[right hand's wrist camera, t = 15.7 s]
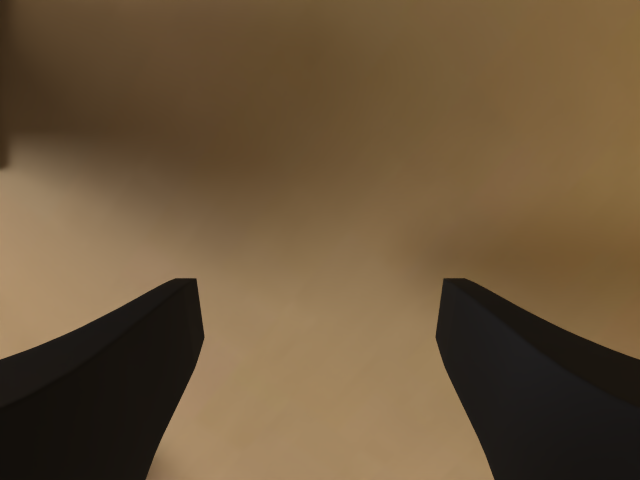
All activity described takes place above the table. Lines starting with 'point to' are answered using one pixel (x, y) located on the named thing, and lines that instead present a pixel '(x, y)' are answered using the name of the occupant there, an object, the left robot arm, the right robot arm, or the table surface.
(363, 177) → the table surface
